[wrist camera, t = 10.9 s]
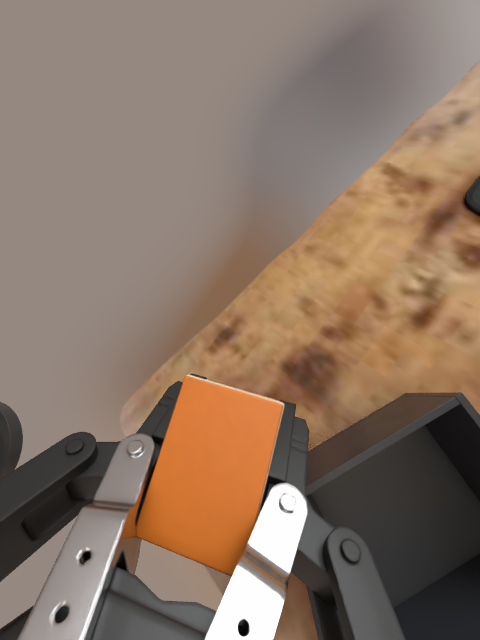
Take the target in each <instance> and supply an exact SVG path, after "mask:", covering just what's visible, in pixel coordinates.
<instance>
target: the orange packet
mask: <svg viewBox="0 0 480 640" xmlns="http://www.w3.org/2000/svg"><path fill="white" fill-rule="evenodd" d="M283 410H284V403H283V402H280V401H277V400H275V399H272V398H269V397H265V396H262V395H258V394H255V393H252V392H248V391H245V390H242V389H238V388H235V387H231V386H228V385H224V384H220V383H216V382H213V381H209V380H206V379H202V378H199V377H196V376H192V375H187V376H185V377H184V380H183V384H182V387H181V390H180V393H179V396H178V399H177V402H176V405H175V408H174V411H173V414H172V417H171V420H170V423H169V426H168V429H167V432H166V435H165V438H164V442H163V445H162V448H161V451H160V454H159V457H158V460H157V463H156V466H155V469H154V472H153V475H152V478H151V481H150V484H149V487H148V490H147V493H146V496H145V500H144V503H143V506H142V509H141V512H140V515H139V518H138V521H137V524H136V532H137V537H138V538H141V539H143V540H145V541H148V542H150V543H153V544H155V545H157V546H160V547H162V548H165V549H167V550H170V551H172V552H175V553H177V554H179V555H182V556H184V557H186V558H189V559H191V560H194V561H196V562H198V563H201V564H203V565H206V566H208V567H211V568H213V569H215V570H218V571H220V572H223V573H225V574H227V575H230V576H233V573H234V571H235V569H236V566H237V564H238V562H239V560H240V557H241V555H242V553H243V551H244V550H245V547H246V545H247V543H248V541H249V538H250V536H251V534H252V531H253V529H254V527H255V524H256V522H257V520H258V516H259V512H260V507H261V503H262V499H263V495H264V490H265V486H266V482H267V478H268V474H269V469H270V465H271V461H272V457H273V452H274V448H275V444H276V440H277V436H278V431H279V427H280V423H281V419H282V414H283Z"/></svg>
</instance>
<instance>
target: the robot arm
mask: <svg viewBox="0 0 480 640" xmlns="http://www.w3.org/2000/svg"><path fill="white" fill-rule="evenodd" d="M191 375H192V376H196V377H199V378H202V379H206V380H207V378H206V377H202V376H199V375H195V374H191ZM182 384H183V382H180V381H178V382H176V383H175V384H173V385H172V386H170V387H169V388H168V389H167V391H166V392H165V394H164V395H163V397H162V398H161V399H160V401H159V402H158V404H157V405H156V406H155V408H154V409H153V411H152V412H151V413H150V415H149V416H148V418H147V419H146V421H145V422H144V423H143V425H142V426H141V428H140V429H139V430H138V432H137V433H136V434H132V435H130V436H128V437H126V438H125V439H123V440H122V441H119V442H96V439H95V437H94V436H93V435H92V434H90V433H87V432H78V433H74V434H71V435H69V436H67V437H66V438H64V439H62V440H61V441H59V442H58V443H56V444H55V445H53V446H51V447H50V448H48V449H47V450H45V451H44V452H42V453H40V454H39V455H38V456H36V457H35V458H33V459H31V460H30V461H28V462H26V463H25V464H23V465H22V466H20V467H19V468H17V469H16V470H14V471H12V472H11V473H9V474H8V475H6V476H4V477H3V478H1V479H0V582H1V581H2V580H3V579H4V578H5V577H6V576H8V575H9V574H10V573H11V572H12V571H13V570H15V569H16V567H18V566H19V565H20V564H21V563H23V562H24V561H25V560H26V559H27V558H28V557H30V556H31V555H32V554H33V553H34V552H35V551H37V550H38V549H39V548H40V547H41V546H42V545H43V544H45V543H46V542H47V541H48V540H49V539H51V538H52V537H53V536H54V535H55V534H56V533H57V532H59V531H60V530H61V529H62V528H63V527H64V526H66V525H67V524H68V523H69V522H70V521H71V520H73V519H74V518H75V517H76V516H77V515H78V516H77V518H76V520H75V522H74V524H73V526H72V529H71V531H70V533H69V535H68V537H67V539H66V541H65V543H64V545H63V547H62V549H61V551H60V553H59V555H58V558H57V559H56V561H55V564H54V565H53V568H52V570H51V572H50V574H49V576H48V578H47V580H46V582H45V584H44V586H43V588H42V590H41V592H40V594H39V596H38V598H37V600H36V602H35V605H34V606H32V607H31V608H30V609H28V610H27V611H25V612H24V613H22V614H21V615H20V616H18V617H17V618H15V619H14V620H13V621H11V622H10V623H8V624H7V625H5V626H4V627H2V628H1V629H0V640H273V639H274V635H275V632H276V628H277V625H278V621H279V618H280V614H281V610H282V607H283V603H284V600H285V596H286V592H287V587H288V578H289V574H290V571H291V572H293V573H294V574H295V575H296V576H297V577H298V578H299V579H300V580H302V581H303V582H304V583H305V584H306V585H307V589H308V594H309V599H310V603H311V608H312V612H313V617H314V621H315V626H316V630H317V635H318V639H319V640H406V639H405V636H404V634H403V631H402V629H401V626H400V624H399V621H398V619H397V616H396V614H395V611H394V609H393V606H392V604H391V601H390V599H389V596H388V594H387V591H386V589H385V586H384V584H383V581H382V579H381V576H380V573H379V571H378V568H377V566H376V563H375V561H374V558H373V556H372V553H371V551H370V549H369V547H368V545H367V543H366V541H365V540H364V539H363V538H362V536H361V535H360V534H359V533H357V532H356V531H355V530H353V529H351V528H349V527H346V526H338V527H334V526H332V525H331V524H330V523H328V522H327V521H326V520H324V519H323V518H322V517H320V516H319V515H318V514H317V513H316V512H315V511H314V510H313V508H312V507H311V505H310V504H309V502H308V499H307V496H306V491H305V484H306V469H307V451H308V438H309V430H308V427H307V424H306V421H305V420H304V419H301V418H298V417H295V409H296V404H293V403H289V402H286V401H283V400H280V402H283V403H284V410H283V414H282V419H281V423H280V427H279V431H278V436H277V440H276V444H275V448H274V452H273V457H272V461H271V465H270V469H269V474H268V478H267V482H266V486H265V490H264V495H263V499H262V503H261V507H260V509H261V513H260V515H259V517H258V520H257V522H256V524H255V527H254V529H253V531H252V534H251V536H250V538H249V541H248V543H247V545H246V547H245V550H244V551H243V553H242V555H241V557H240V560H239V562H238V564H237V566H236V569H235V571H234V573H233V576H232V578H231V580H230V582H229V585H228V587H227V589H226V592H225V594H224V596H223V599H222V601H221V603H220V606H219V608H218V610H217V611H215V610H213V609H210V608H208V607H205V606H203V605H201V604H199V603H196V602H177V601H163V600H160V599H159V598H158V597H157V596H156V595H155V594H154V593H153V592H152V591H151V590H150V589H149V588H148V587H147V586H146V585H145V584H144V583H143V582H142V581H141V580H140V579H139V578H138V577H137V576H136V575H134V574H135V570H136V566H137V562H138V557H139V552H140V545H141V540H142V539H141V538H138V537H137V532H136V524H137V521H138V518H139V515H140V512H141V509H142V506H143V503H144V500H145V496H146V493H147V490H148V487H149V484H150V481H151V478H152V475H153V472H154V469H155V466H156V463H157V460H158V457H159V454H160V451H161V448H162V445H163V442H164V438H165V435H166V432H167V429H168V426H169V423H170V420H171V417H172V414H173V411H174V408H175V405H176V402H177V399H178V396H179V393H180V390H181V387H182ZM84 563H86V564H84Z"/></svg>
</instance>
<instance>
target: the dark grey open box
mask: <svg viewBox="0 0 480 640" xmlns="http://www.w3.org/2000/svg"><path fill="white" fill-rule="evenodd" d="M305 491H306V496H307V499H308V502H309V504H310V505H311V507H312V508H313V510H314V511H315V512H316V513H317V514H318V515H319V516H320V517H322V518H323V519H324V520H326V521H327V522H328V523H330V524H331V525H332V526H334V527H338V526H346V527H349V528H351V529H353V530H355V531H356V532H357V533H359V534H360V535H361V536H362V538H363V539H364V540H365V541H366V543H367V545H368V547H369V549H370V551H371V553H372V556H373V558H374V561H375V563H376V566H377V568H378V571H379V573H380V576H381V579H382V581H383V584H384V586H385V589H386V591H387V594H388V596H389V599H390V601H391V604H392V606H393V609H394V611H395V614H396V616H397V619H398V621H399V624H400V626H401V629H402V631H403V634H404V636H405V639H406V640H480V415H479V414H478V413H477V411H476V410H475V409H474V407H473V406H472V405H471V404H470V402H469V401H468V400H467V399H466V397H465V396H464V395H463V394H462V393H406V394H404V395H402V396H401V397H399V398H397V399H396V400H394V401H392V402H391V403H389V404H387V405H385V406H384V407H382V408H380V409H379V410H377V411H375V412H374V413H372V414H370V415H369V416H367V417H365V418H364V419H362V420H360V421H359V422H357V423H355V424H354V425H352V426H350V427H349V428H347V429H345V430H344V431H342V432H340V433H339V434H337V435H335V436H333V437H332V438H330V439H328V440H327V441H325V442H323V443H322V444H320V445H318V446H317V447H315V448H313V449H312V450H310V451H308V452H307V469H306V484H305Z"/></svg>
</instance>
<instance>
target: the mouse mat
mask: <svg viewBox="0 0 480 640" xmlns="http://www.w3.org/2000/svg"><path fill="white" fill-rule="evenodd" d="M466 202H467V204H468V205H469V207H470V208H471V209H473V210H474V211H475V212H477V213H479V214H480V176H479V177H478V178H477V179H476V181H475V182H474V184H473V185H472V186H471V187H470V189H468V191H467V193H466Z"/></svg>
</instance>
